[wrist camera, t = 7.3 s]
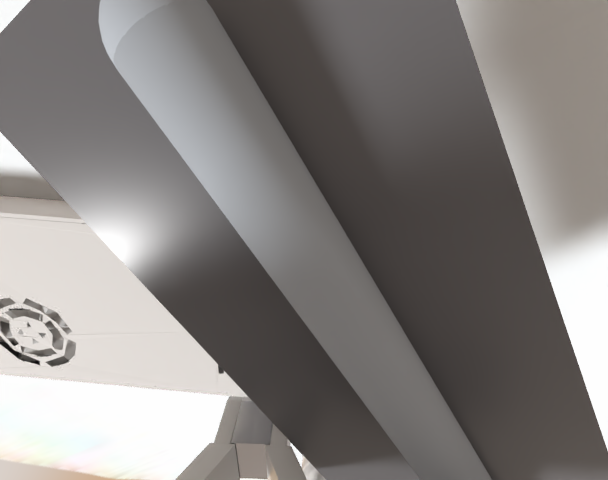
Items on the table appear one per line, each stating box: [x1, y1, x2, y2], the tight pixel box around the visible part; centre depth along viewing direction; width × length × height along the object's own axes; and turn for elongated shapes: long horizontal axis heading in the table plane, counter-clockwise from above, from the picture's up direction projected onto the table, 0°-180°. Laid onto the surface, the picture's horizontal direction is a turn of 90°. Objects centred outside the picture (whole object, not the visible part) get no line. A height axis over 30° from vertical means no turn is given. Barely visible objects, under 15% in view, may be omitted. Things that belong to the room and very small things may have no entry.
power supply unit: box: [0, 196, 248, 397], centre depth 29 cm, size 19×33×5 cm, turn 86°
